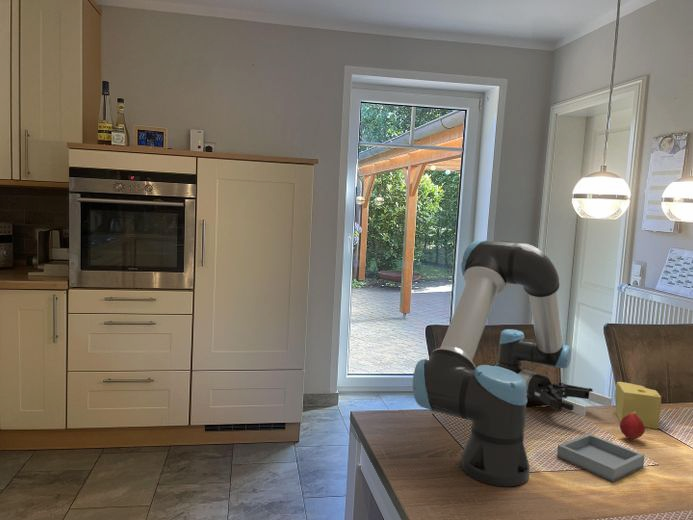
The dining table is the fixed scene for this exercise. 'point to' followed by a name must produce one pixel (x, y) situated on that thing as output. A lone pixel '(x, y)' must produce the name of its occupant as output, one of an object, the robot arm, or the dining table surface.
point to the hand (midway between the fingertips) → (598, 406)
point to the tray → (601, 456)
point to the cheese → (638, 403)
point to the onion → (632, 426)
